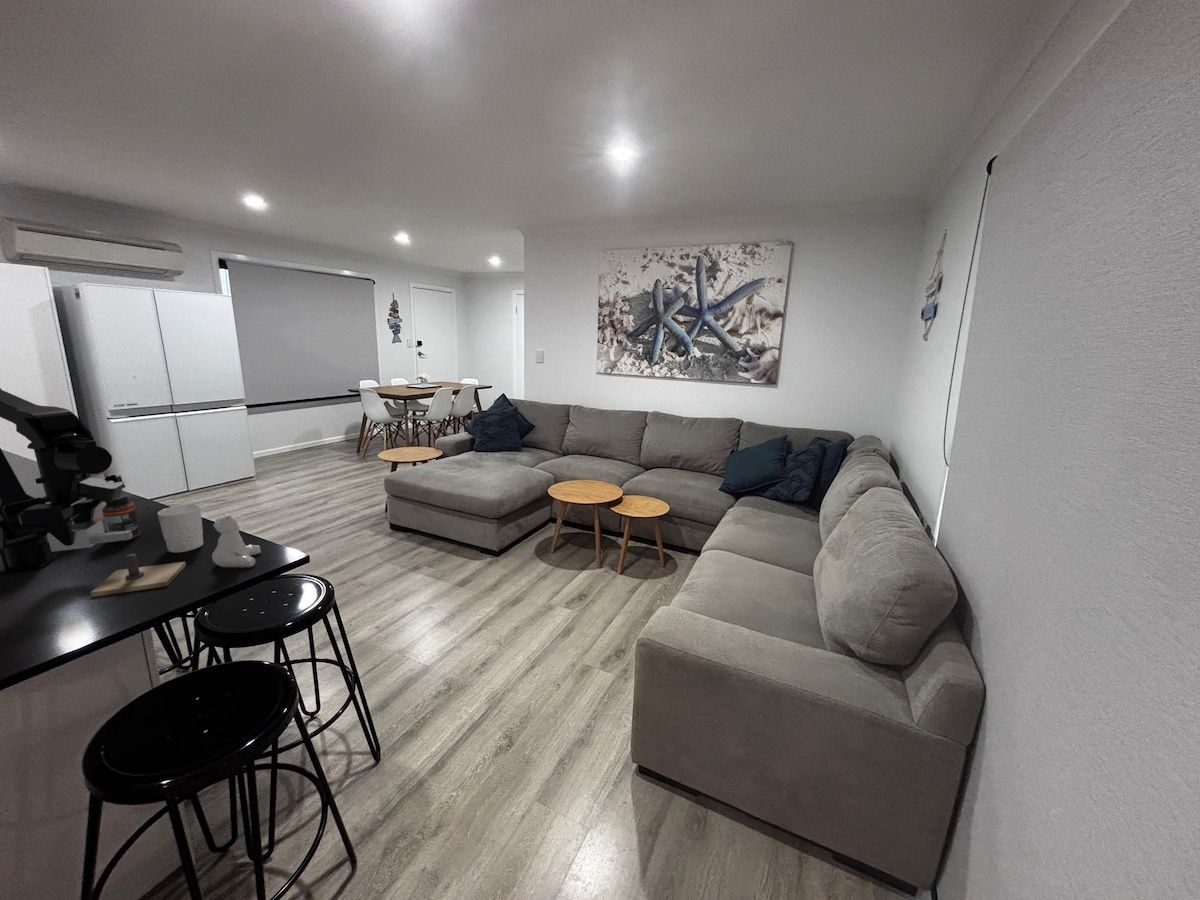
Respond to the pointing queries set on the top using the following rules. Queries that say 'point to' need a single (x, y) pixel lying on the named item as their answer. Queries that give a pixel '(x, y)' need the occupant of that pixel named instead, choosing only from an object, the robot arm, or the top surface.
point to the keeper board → (138, 577)
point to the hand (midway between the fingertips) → (78, 539)
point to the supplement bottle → (121, 516)
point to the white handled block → (88, 536)
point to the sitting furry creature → (232, 545)
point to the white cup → (181, 527)
